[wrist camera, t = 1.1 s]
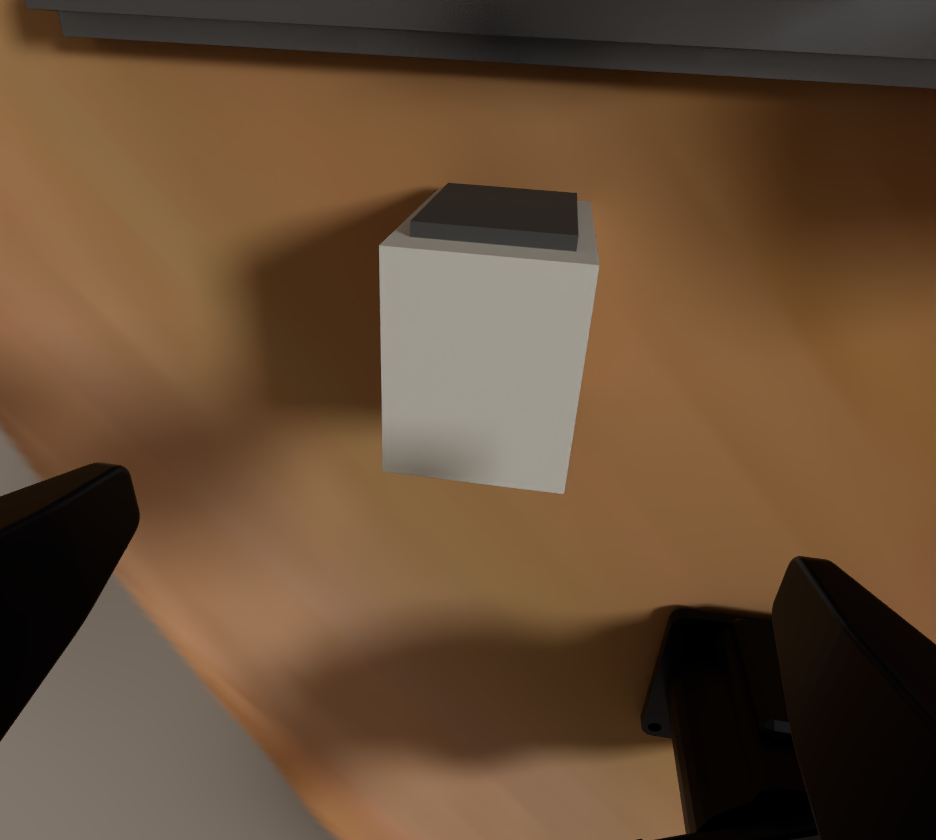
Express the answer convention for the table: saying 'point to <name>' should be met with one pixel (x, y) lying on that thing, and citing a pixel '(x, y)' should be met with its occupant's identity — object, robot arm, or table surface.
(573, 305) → the block
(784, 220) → the table surface
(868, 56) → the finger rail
